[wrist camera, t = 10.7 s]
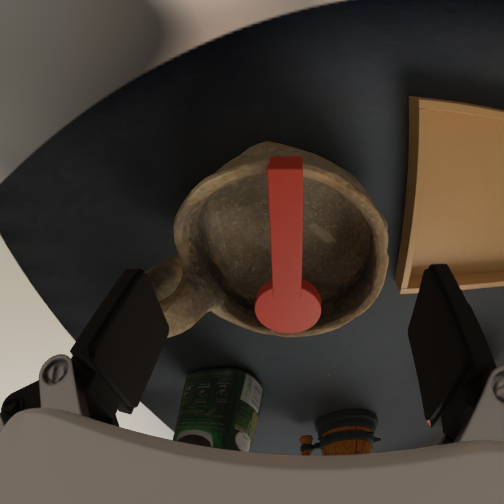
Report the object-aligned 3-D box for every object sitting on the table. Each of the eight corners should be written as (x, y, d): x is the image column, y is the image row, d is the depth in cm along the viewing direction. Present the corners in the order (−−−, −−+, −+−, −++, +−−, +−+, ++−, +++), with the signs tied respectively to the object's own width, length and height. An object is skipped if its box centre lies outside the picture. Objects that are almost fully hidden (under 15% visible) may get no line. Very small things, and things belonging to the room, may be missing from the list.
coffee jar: (209, 399, 40) (177, 516, 25) (179, 367, 36) (134, 500, 21) (273, 394, 37) (253, 529, 22) (249, 360, 33) (217, 519, 18)
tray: (408, 96, 16) (418, 98, 15) (559, 125, 13) (572, 131, 12) (394, 279, 24) (399, 294, 23) (526, 270, 21) (535, 282, 20)
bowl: (382, 278, 25) (406, 374, 16) (195, 304, 29) (161, 389, 21) (362, 114, 18) (413, 152, 10) (133, 172, 23) (55, 237, 14)
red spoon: (244, 156, 14) (236, 169, 13) (329, 156, 14) (333, 169, 12) (258, 322, 20) (254, 345, 18) (318, 324, 20) (318, 347, 18)
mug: (380, 403, 36) (385, 478, 26) (377, 430, 41) (379, 492, 31) (290, 413, 39) (282, 486, 30) (301, 438, 44) (295, 498, 35)
